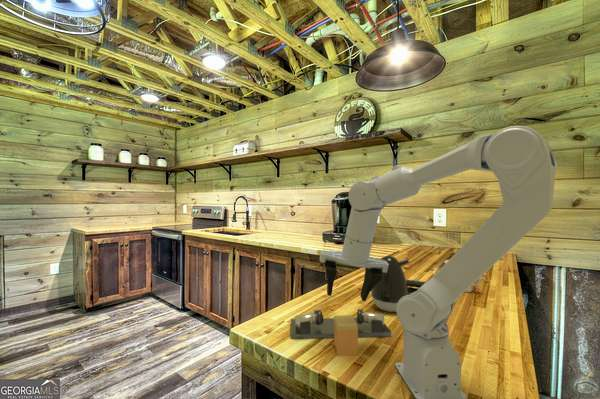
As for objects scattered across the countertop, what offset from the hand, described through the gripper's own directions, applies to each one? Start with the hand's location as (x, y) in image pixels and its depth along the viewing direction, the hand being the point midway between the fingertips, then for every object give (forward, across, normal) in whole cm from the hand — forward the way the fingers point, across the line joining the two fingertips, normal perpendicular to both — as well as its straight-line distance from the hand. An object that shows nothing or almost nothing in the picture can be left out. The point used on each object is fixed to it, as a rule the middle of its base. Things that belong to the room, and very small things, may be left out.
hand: (345, 295), depth 61 cm
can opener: (+11, -28, -27) cm, 41 cm away
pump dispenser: (+11, -18, -16) cm, 26 cm away
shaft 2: (+9, -8, -2) cm, 12 cm away
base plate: (+11, -1, -4) cm, 12 cm away
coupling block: (+10, -1, +4) cm, 11 cm away
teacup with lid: (+8, -49, -32) cm, 59 cm away
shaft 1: (+12, +6, -2) cm, 13 cm away
